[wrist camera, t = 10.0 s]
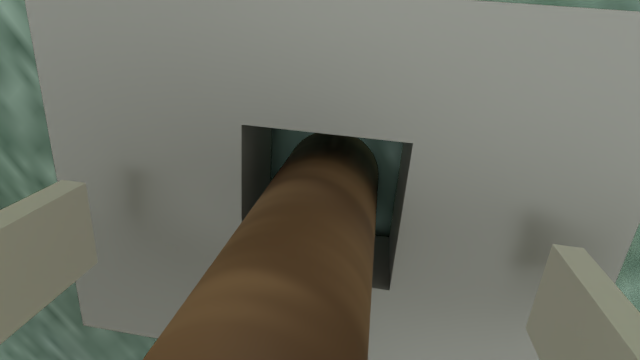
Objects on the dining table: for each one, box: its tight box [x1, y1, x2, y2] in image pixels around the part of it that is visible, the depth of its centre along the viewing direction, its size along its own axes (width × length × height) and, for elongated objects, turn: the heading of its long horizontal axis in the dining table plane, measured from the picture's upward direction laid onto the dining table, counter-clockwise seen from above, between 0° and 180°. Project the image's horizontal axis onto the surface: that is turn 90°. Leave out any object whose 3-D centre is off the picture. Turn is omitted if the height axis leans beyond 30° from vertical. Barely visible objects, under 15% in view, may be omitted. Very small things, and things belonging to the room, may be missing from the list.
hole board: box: [25, 0, 640, 360], centre depth 16 cm, size 20×14×4 cm
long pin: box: [143, 133, 378, 360], centre depth 13 cm, size 4×4×12 cm
